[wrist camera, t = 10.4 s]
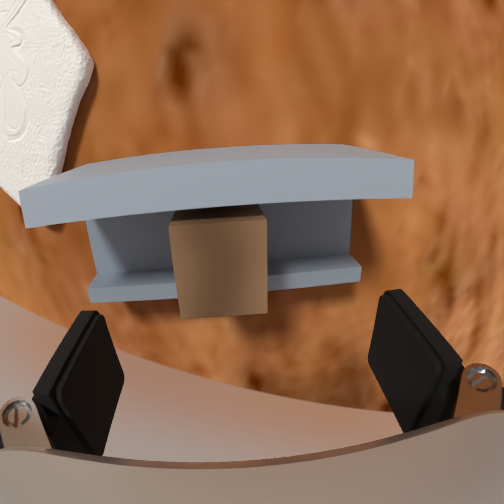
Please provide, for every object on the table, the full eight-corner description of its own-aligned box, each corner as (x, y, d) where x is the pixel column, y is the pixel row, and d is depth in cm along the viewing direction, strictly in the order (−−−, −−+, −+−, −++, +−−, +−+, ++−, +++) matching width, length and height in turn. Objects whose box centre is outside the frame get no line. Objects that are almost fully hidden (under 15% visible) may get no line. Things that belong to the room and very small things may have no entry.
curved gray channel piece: (343, 144, 23) (414, 160, 14) (339, 257, 27) (393, 321, 18) (87, 163, 22) (18, 191, 13) (107, 276, 26) (64, 348, 16)
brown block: (249, 187, 22) (266, 220, 15) (251, 262, 24) (267, 324, 17) (184, 191, 22) (168, 226, 14) (191, 266, 24) (182, 329, 16)
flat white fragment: (-76, 115, 18) (53, 228, 24) (-96, 118, 14) (32, 242, 21) (11, -54, 12) (186, 10, 18) (-6, -63, 8) (179, -6, 15)
